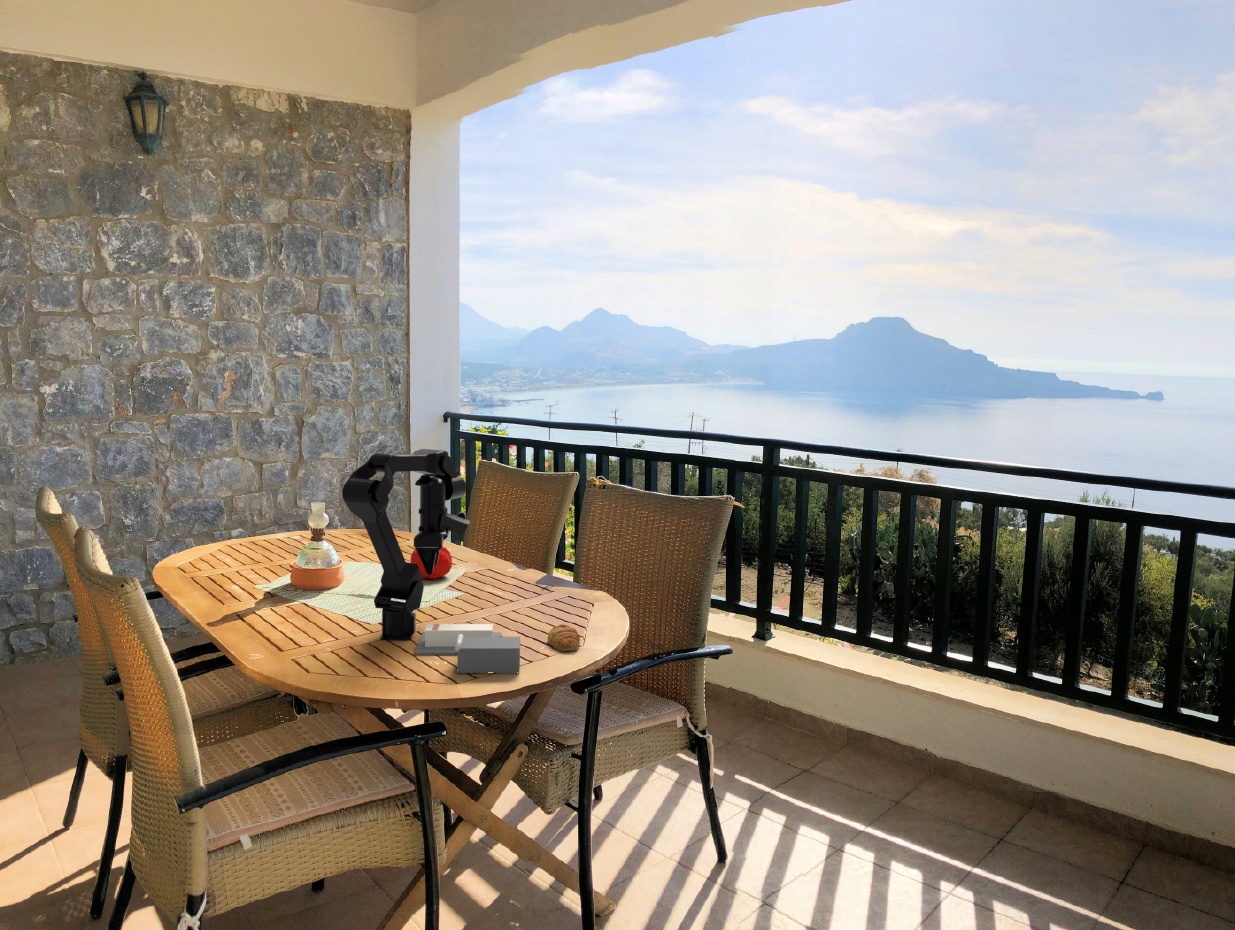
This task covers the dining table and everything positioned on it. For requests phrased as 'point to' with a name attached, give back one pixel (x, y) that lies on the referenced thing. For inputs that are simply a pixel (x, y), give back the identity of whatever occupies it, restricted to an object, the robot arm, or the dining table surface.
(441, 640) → the white block
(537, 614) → the dining table surface
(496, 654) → the block
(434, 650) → the mat
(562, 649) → the pastry
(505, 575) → the dining table surface
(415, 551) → the tomato
